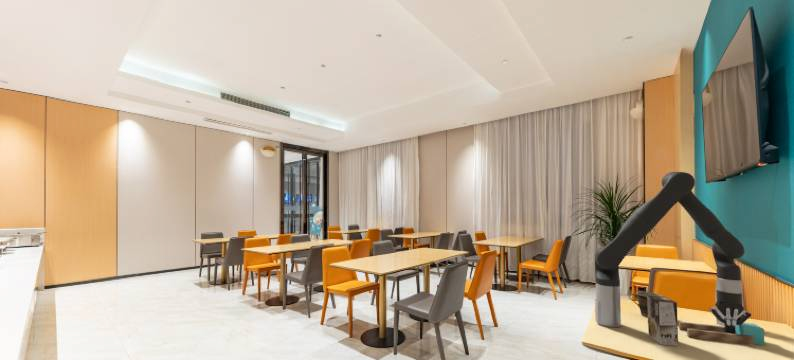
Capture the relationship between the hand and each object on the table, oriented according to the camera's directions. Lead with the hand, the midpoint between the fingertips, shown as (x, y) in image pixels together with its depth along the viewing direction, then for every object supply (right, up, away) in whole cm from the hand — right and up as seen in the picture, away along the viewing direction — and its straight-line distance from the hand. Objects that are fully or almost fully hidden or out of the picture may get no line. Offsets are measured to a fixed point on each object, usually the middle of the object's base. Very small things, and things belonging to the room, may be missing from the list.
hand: (730, 334), depth 138 cm
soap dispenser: (+13, -3, +14) cm, 19 cm away
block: (+5, -2, -2) cm, 6 cm away
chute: (-5, -2, +2) cm, 5 cm away
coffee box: (-29, -2, -3) cm, 29 cm away
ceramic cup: (-14, -3, +27) cm, 31 cm away
